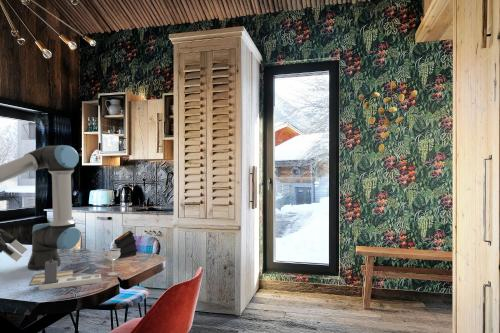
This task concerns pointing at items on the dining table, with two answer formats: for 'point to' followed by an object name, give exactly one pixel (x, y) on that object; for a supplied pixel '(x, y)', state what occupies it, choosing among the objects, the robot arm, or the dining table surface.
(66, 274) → the oak board
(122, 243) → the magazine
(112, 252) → the wineglass
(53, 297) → the dining table surface
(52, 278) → the gray knobbed block
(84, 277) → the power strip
